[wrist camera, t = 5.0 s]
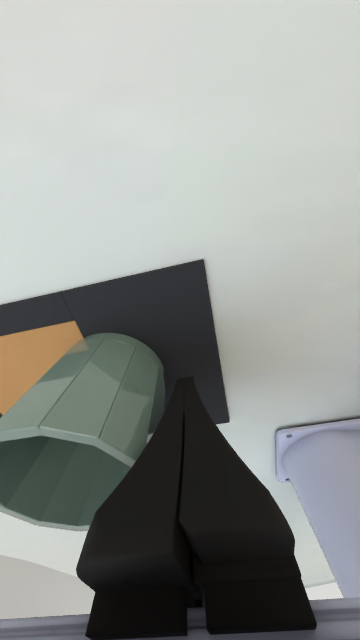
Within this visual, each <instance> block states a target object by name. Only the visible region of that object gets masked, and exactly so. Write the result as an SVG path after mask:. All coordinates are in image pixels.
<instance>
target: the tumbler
mask: <svg viewBox="0 0 360 640" xmlns="http://www.w3.org/2000/svg"><path fill="white" fill-rule="evenodd" d="M165 393H166V386H165V371H164V368H163V365H162V363H161V361H160V359H159V358H158V356H157V355H156V354H155V352H154V351H152V350H151V349H150V348H149V347H148V346H147V345H145V344H144V343H142V342H141V341H139V340H137V339H135V338H133V337H130V336H127V335H123V334H118V333H98V334H93V335H90V336H87V337H85V338H83V339H81V340H79V341H78V342H77V343H75V344H74V345H73V346H72V347H71V348H70V349H69V350H68V351H67V352H66V353H65V354H64V355H63V356H62V357H61V358H60V359H59V360H58V361H57V362H56V363H55V364H54V365H53V366H52V367H51V368H50V369H49V370H48V371H47V372H46V373H45V374H44V375H43V376H42V377H41V378H40V379H39V380H38V381H37V382H36V383H35V384H34V385H33V386H32V387H31V388H30V389H29V390H28V391H27V392H26V393H25V394H24V395H23V396H22V397H21V398H20V399H19V400H18V401H17V402H16V403H15V404H14V405H13V406H12V407H11V408H10V409H9V410H8V411H7V412H6V413H5V414H4V415H3V416H2V417H1V418H0V512H2V513H5V514H8V515H10V516H13V517H15V518H18V519H21V520H23V521H26V522H29V523H31V524H34V525H38V526H42V527H50V528H57V529H64V530H71V531H88V530H89V527H90V525H91V522H92V520H93V517H94V515H95V512H96V511H97V510H98V508H99V507H100V506H101V505H102V504H103V502H104V501H105V500H106V499H107V498H108V497H109V495H110V494H111V493H112V492H113V491H114V489H115V488H116V487H117V486H118V484H119V483H120V482H121V481H122V479H123V478H124V477H125V475H126V474H127V473H128V471H129V470H130V468H131V467H132V466H133V464H134V463H135V462H136V460H137V459H138V457H139V456H140V454H141V453H142V451H143V450H144V448H145V446H146V445H147V443H148V442H149V440H150V438H151V437H152V435H153V433H154V431H155V430H156V428H157V426H158V424H159V422H160V420H161V418H162V416H163V413H164V404H165Z"/></svg>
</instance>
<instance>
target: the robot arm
mask: <svg viewBox="0 0 360 640" xmlns="http://www.w3.org/2000/svg"><path fill="white" fill-rule="evenodd" d="M276 468H277V479H278V481H279V482H291V483H292V485H293V488H294V490H295V492H296V494H297V496H298V499H299V501H300V503H301V505H302V507H303V510H304V512H305V514H306V516H307V518H308V521H309V523H310V525H311V527H312V529H313V531H314V534H315V536H316V538H317V540H318V542H319V545H320V547H321V549H322V551H323V553H324V556H325V558H326V560H327V562H328V564H329V567H330V569H331V571H332V573H333V575H334V578H335V580H336V582H337V584H338V586H339V589H340V591H341V593H342V595H343V597H344V598H340V599H326V600H325V599H324V600H309V599H308V597H307V594H306V591H305V588H304V585H303V583H302V580H301V573H300V570H299V567H298V564H297V561H296V559H295V556H294V547H295V539H294V535H293V533H292V530H291V528H290V526H289V524H288V522H287V520H286V518H285V517H284V515H283V513H282V511H281V510H280V508H279V507H278V505H277V503H276V502H275V500H274V499H273V497H272V495H271V494H270V492H269V491H268V489H267V488H266V487H265V486H264V485H263V484H262V483H261V482H260V481H259V480H258V478H257V477H256V476H255V475H254V474H253V473H252V472H251V470H250V469H249V468H248V467H247V466H246V464H245V463H244V462H243V461H242V460H241V459H240V457H239V456H238V455H237V453H236V452H235V451H234V449H233V448H232V447H231V446H230V444H229V443H228V442H227V440H226V439H225V437H224V436H223V435H222V433H221V432H220V430H219V429H218V427H217V426H216V424H215V423H214V421H213V419H212V418H211V416H210V414H209V413H208V411H207V409H206V407H205V405H204V403H203V401H202V399H201V397H200V395H199V392H198V390H197V386H196V382H195V378H194V377H193V376H190V377H184V378H178V379H177V380H176V382H175V386H174V389H173V392H172V394H171V397H170V400H169V402H168V404H167V407H166V409H165V411H164V413H163V416H162V418H161V420H160V422H159V424H158V426H157V428H156V430H155V431H154V433H153V435H152V437H151V438H150V440H149V442H148V443H147V445H146V446H145V448H144V450H143V451H142V453H141V454H140V456H139V457H138V459H137V460H136V462H135V463H134V464H133V466H132V467H131V468H130V470H129V471H128V473H127V474H126V475H125V477H124V478H123V479H122V481H121V482H120V483H119V484H118V486H117V487H116V488H115V489H114V491H113V492H112V493H111V494H110V495H109V497H108V498H107V499H106V500H105V501H104V502H103V504H102V505H101V506H100V507H99V508H98V510H97V511H96V512H95V515H94V517H93V520H92V522H91V525H90V527H89V530H88V533H87V536H86V539H85V542H84V545H83V548H82V552H81V555H80V558H79V561H78V564H77V568H76V571H77V576H78V577H79V578H80V579H81V581H83V582H84V583H85V584H86V585H88V586H89V587H90V588H91V589H93V590H94V591H95V596H94V600H93V604H92V609H91V613H90V614H83V615H68V616H49V617H33V618H18V619H3V620H2V619H1V620H0V640H360V418H359V419H352V420H345V421H338V422H330V423H323V424H316V425H309V426H302V427H295V428H288V429H281V430H278V431H277V432H276Z"/></svg>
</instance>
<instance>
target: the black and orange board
mask: <svg viewBox="0 0 360 640" xmlns="http://www.w3.org/2000/svg"><path fill="white" fill-rule="evenodd" d="M98 333H118V334H123V335H127V336H130V337H133V338H135V339H137V340H139V341H141V342H142V343H144V344H145V345H147V346H148V347H149V348H150V349H151V350H152V351H154V352H155V354H156V355H157V356H158V358H159V359H160V361H161V363H162V365H163V368H164V371H165V386H166V393H165V404H164V411H165V409H166V407H167V404H168V402H169V400H170V397H171V394H172V392H173V389H174V386H175V382H176V380H177V379H178V378H184V377H190V376H193V377H194V378H195V382H196V386H197V390H198V392H199V395H200V397H201V399H202V401H203V403H204V405H205V407H206V409H207V411H208V413H209V414H210V416H211V418H212V419H213V421H214V423H215V424H221V423H228V422H229V416H228V410H227V404H226V397H225V391H224V385H223V379H222V373H221V366H220V360H219V354H218V348H217V341H216V335H215V329H214V323H213V316H212V310H211V304H210V298H209V291H208V285H207V279H206V273H205V267H204V260H203V259H202V260H198V261H193V262H189V263H184V264H180V265H176V266H171V267H167V268H162V269H158V270H153V271H149V272H145V273H140V274H136V275H131V276H127V277H123V278H118V279H114V280H109V281H105V282H101V283H96V284H92V285H87V286H83V287H79V288H74V289H70V290H65V291H61V292H57V293H52V294H48V295H43V296H39V297H34V298H30V299H26V300H21V301H17V302H12V303H8V304H4V305H0V418H1V417H2V416H3V415H4V414H5V413H6V412H7V411H8V410H9V409H10V408H11V407H12V406H13V405H14V404H15V403H16V402H17V401H18V400H19V399H20V398H21V397H22V396H23V395H24V394H25V393H26V392H27V391H28V390H29V389H30V388H31V387H32V386H33V385H34V384H35V383H36V382H37V381H38V380H39V379H40V378H41V377H42V376H43V375H44V374H45V373H46V372H47V371H48V370H49V369H50V368H51V367H52V366H53V365H54V364H55V363H56V362H57V361H58V360H59V359H60V358H61V357H62V356H63V355H64V354H65V353H66V352H67V351H68V350H69V349H70V348H71V347H72V346H73V345H74V344H75V343H77V342H78V341H79V340H81V339H83V338H85V337H87V336H90V335H93V334H98Z"/></svg>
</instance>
